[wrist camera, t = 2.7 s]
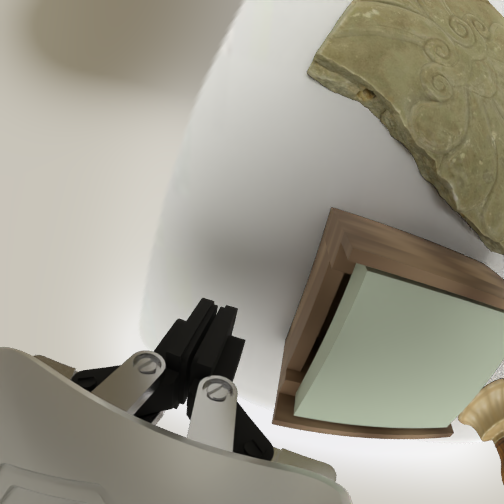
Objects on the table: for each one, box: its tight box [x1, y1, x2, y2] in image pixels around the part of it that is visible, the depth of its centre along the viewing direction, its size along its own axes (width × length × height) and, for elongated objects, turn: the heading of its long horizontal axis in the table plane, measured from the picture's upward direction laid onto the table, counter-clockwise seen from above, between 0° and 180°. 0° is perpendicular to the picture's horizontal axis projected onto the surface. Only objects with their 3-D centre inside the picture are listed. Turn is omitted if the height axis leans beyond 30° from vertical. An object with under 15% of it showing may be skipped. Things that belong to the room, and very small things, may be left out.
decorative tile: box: [307, 0, 504, 255], centre depth 10 cm, size 19×20×4 cm
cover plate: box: [294, 263, 504, 428], centre depth 12 cm, size 12×9×2 cm
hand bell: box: [458, 379, 504, 484], centre depth 12 cm, size 8×8×16 cm
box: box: [272, 207, 504, 439], centre depth 14 cm, size 14×11×8 cm
